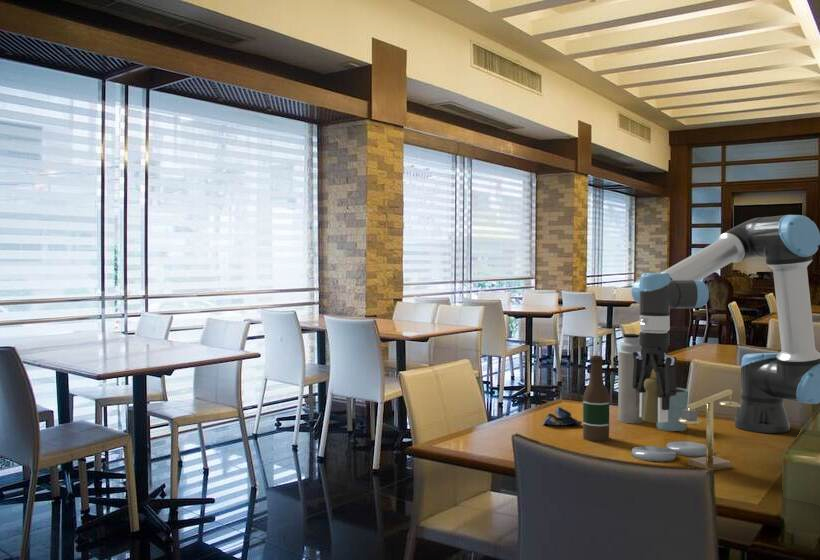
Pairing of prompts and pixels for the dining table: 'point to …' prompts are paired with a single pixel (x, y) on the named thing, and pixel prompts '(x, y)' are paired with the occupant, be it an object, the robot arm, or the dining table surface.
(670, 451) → the dish low end
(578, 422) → the snack package
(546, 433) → the dining table surface
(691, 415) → the balance
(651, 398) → the pepper shaker
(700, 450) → the dish high end
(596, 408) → the beer bottle
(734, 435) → the dining table surface
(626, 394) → the thermos bottle
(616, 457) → the dining table surface
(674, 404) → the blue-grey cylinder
